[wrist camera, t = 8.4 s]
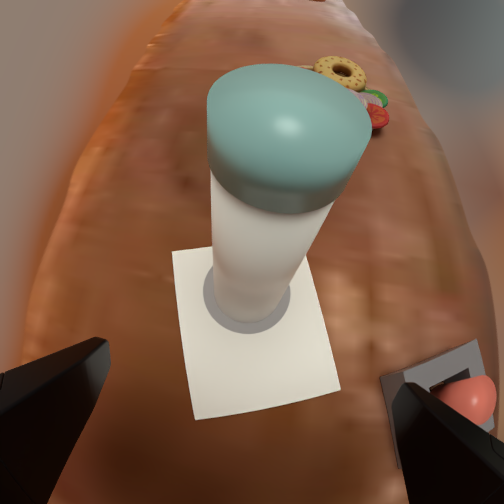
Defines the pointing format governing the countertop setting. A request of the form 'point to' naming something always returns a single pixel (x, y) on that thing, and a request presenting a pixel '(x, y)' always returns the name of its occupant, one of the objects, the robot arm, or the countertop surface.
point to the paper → (250, 344)
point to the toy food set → (354, 86)
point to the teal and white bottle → (274, 176)
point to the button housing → (436, 376)
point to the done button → (469, 397)
